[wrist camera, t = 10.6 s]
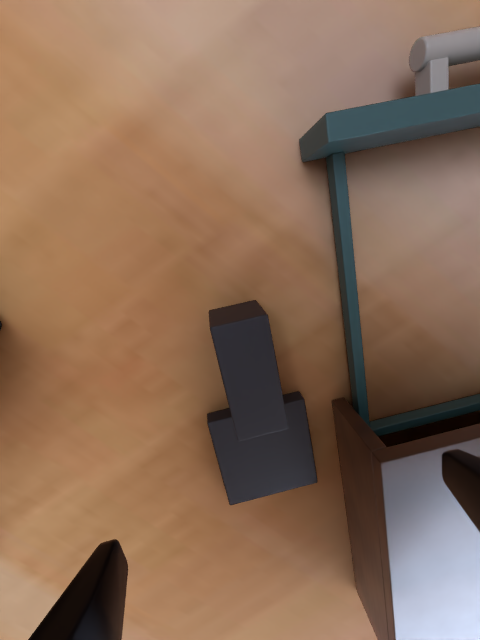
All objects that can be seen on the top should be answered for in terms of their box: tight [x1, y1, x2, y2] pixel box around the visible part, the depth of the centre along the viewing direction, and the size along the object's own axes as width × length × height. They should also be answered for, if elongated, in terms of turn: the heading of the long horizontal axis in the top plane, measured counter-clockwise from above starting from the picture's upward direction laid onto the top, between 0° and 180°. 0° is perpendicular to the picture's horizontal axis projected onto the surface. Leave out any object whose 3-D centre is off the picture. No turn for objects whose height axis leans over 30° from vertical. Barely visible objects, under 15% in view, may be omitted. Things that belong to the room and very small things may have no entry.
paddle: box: [207, 300, 317, 505], centre depth 17 cm, size 6×12×3 cm, turn 12°
